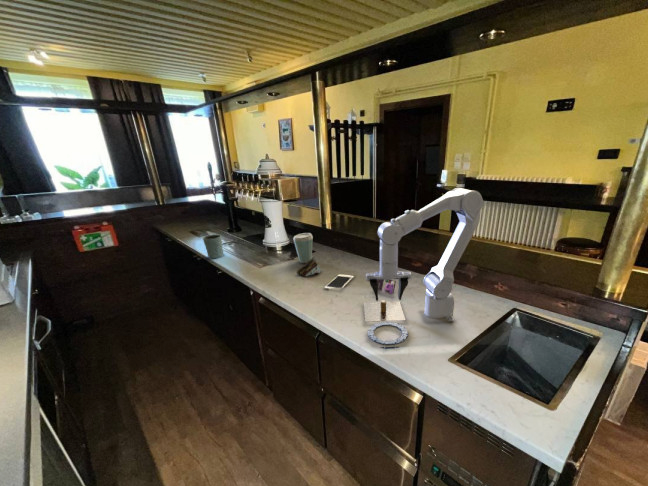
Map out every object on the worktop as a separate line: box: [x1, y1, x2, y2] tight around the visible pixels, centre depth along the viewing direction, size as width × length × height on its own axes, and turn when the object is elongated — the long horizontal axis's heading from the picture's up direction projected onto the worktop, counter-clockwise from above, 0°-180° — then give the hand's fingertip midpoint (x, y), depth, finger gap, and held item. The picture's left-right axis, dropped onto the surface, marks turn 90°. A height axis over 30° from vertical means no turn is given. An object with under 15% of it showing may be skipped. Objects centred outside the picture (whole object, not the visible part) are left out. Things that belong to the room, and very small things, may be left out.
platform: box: [363, 299, 406, 323], centre depth 110 cm, size 14×14×6 cm
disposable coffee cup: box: [293, 232, 314, 264], centre depth 164 cm, size 11×11×15 cm
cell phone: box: [324, 273, 355, 290], centre depth 138 cm, size 8×16×1 cm, turn 158°
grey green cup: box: [202, 234, 224, 259], centre depth 180 cm, size 10×10×12 cm
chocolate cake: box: [295, 256, 322, 278], centre depth 150 cm, size 10×7×12 cm
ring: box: [367, 321, 409, 350], centre depth 97 cm, size 13×13×2 cm
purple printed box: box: [377, 279, 397, 295], centre depth 126 cm, size 7×5×9 cm
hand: (388, 299), depth 101 cm, fingers open, 7 cm apart
